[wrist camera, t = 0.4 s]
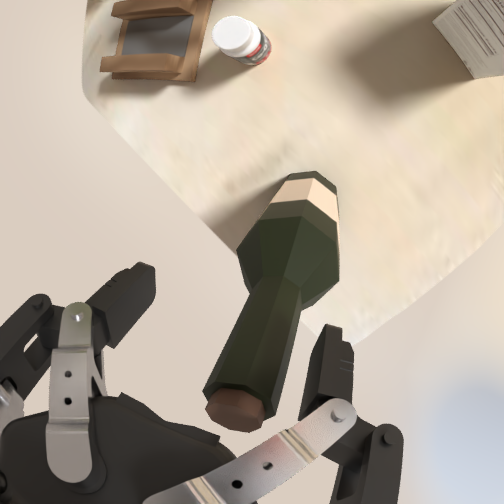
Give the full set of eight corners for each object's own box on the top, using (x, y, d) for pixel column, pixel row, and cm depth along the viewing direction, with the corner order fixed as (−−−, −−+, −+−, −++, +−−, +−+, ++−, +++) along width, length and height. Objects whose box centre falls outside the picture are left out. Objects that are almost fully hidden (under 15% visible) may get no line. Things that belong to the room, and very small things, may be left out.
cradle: (131, 5, 28) (108, -2, 23) (213, -2, 26) (195, -16, 21) (116, 79, 34) (91, 79, 30) (194, 81, 32) (173, 78, 28)
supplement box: (469, -1, 16) (527, -42, 1) (510, 55, 17) (585, 44, 3) (429, 22, 20) (484, -26, 6) (473, 81, 22) (553, 74, 8)
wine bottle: (270, 221, 39) (153, 420, 13) (283, 162, 35) (134, 319, 9) (329, 238, 38) (296, 468, 12) (347, 180, 34) (370, 395, 8)
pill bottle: (265, 69, 30) (245, 58, 23) (230, 60, 30) (202, 49, 23) (277, 37, 27) (260, 17, 20) (241, 29, 28) (216, 10, 20)
